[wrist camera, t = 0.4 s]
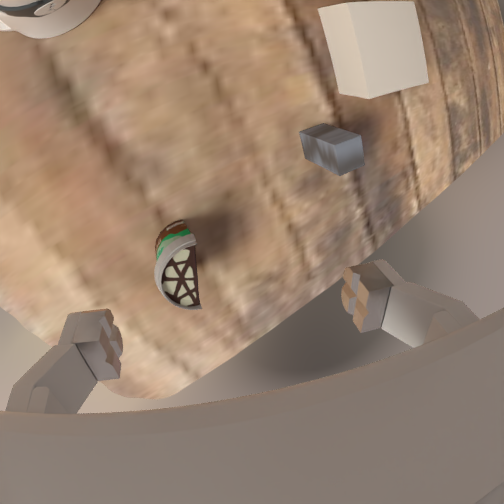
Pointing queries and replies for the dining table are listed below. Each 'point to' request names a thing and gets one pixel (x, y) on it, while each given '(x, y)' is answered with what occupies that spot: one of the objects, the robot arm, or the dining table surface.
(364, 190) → the dining table surface
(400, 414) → the robot arm
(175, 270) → the food container
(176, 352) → the dining table surface
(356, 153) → the slate block
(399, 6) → the painted box
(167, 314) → the dining table surface
